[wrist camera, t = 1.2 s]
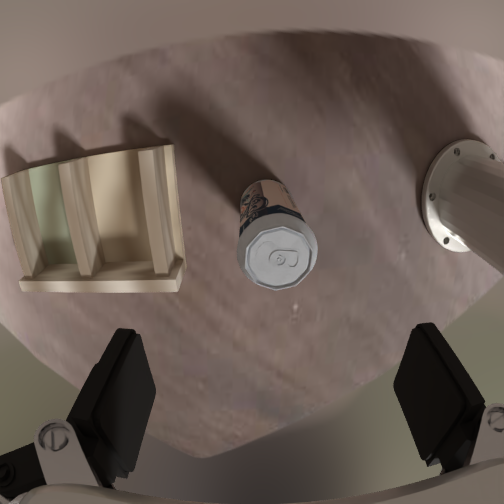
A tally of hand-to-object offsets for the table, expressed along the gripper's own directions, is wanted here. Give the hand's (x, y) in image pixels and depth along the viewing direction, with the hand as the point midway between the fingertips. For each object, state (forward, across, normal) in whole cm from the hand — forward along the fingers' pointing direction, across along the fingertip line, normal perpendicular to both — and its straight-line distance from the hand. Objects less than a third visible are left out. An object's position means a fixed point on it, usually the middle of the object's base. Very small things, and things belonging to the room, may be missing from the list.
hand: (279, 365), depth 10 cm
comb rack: (+20, +17, 0) cm, 26 cm away
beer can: (+21, 0, 0) cm, 21 cm away
